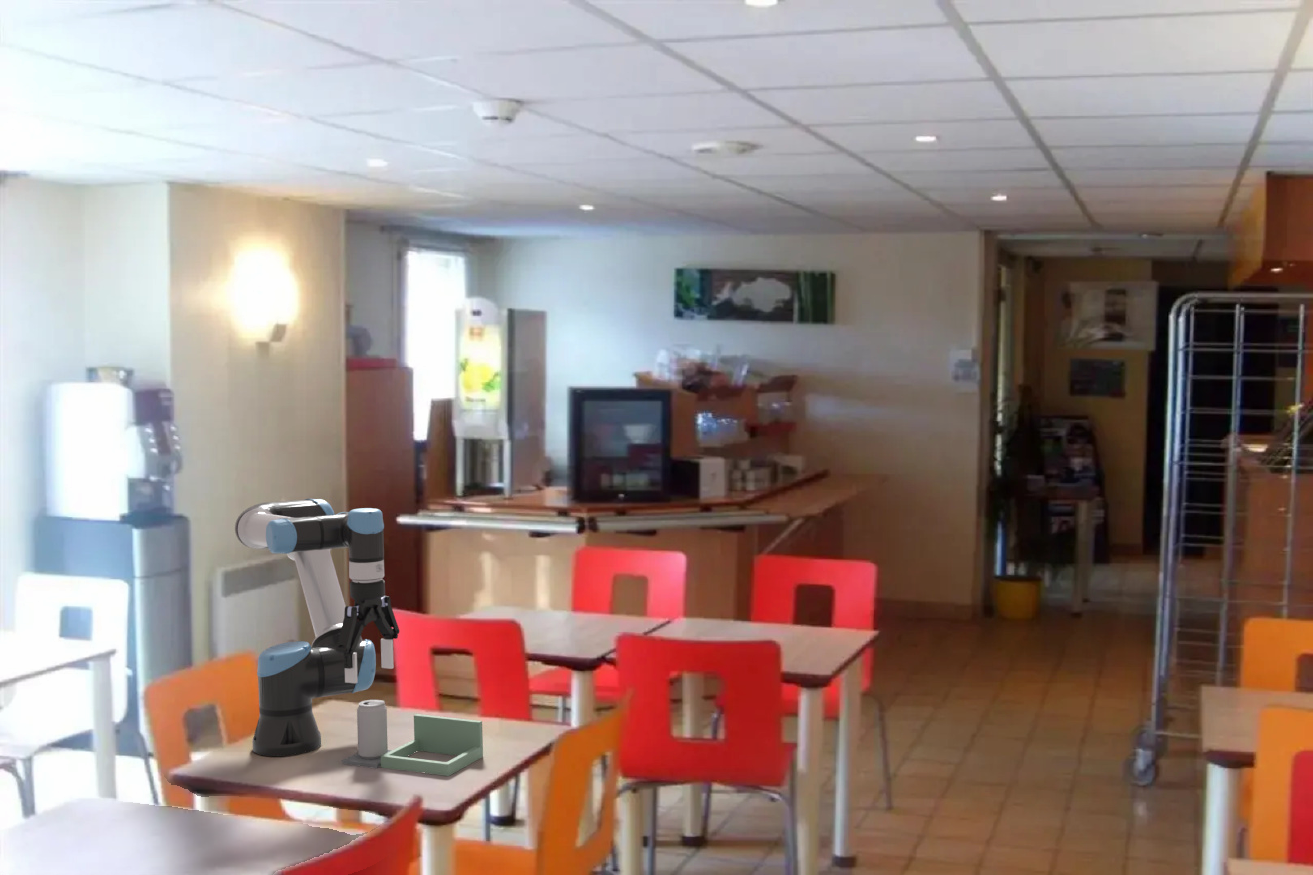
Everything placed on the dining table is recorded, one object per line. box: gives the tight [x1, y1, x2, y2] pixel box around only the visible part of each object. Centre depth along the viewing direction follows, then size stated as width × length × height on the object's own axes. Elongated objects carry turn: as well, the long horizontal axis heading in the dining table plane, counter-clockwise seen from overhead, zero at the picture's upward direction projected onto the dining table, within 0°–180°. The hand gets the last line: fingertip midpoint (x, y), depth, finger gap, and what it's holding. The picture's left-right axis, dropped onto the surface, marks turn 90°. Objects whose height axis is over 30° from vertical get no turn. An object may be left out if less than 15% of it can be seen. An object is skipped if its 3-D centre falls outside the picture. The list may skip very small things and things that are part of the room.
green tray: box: [380, 713, 484, 777], centre depth 295 cm, size 17×14×8 cm
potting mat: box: [341, 749, 393, 769], centre depth 298 cm, size 9×10×1 cm
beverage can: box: [356, 699, 389, 759], centre depth 297 cm, size 6×6×12 cm
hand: (369, 675), depth 297 cm, fingers open, 13 cm apart
